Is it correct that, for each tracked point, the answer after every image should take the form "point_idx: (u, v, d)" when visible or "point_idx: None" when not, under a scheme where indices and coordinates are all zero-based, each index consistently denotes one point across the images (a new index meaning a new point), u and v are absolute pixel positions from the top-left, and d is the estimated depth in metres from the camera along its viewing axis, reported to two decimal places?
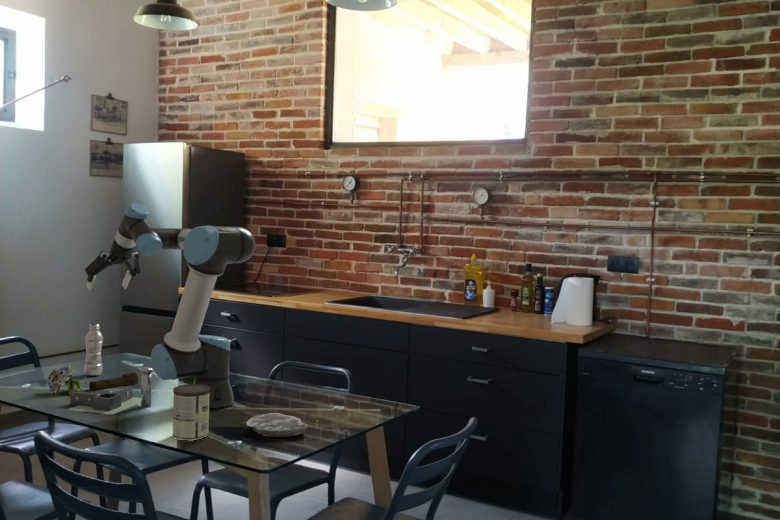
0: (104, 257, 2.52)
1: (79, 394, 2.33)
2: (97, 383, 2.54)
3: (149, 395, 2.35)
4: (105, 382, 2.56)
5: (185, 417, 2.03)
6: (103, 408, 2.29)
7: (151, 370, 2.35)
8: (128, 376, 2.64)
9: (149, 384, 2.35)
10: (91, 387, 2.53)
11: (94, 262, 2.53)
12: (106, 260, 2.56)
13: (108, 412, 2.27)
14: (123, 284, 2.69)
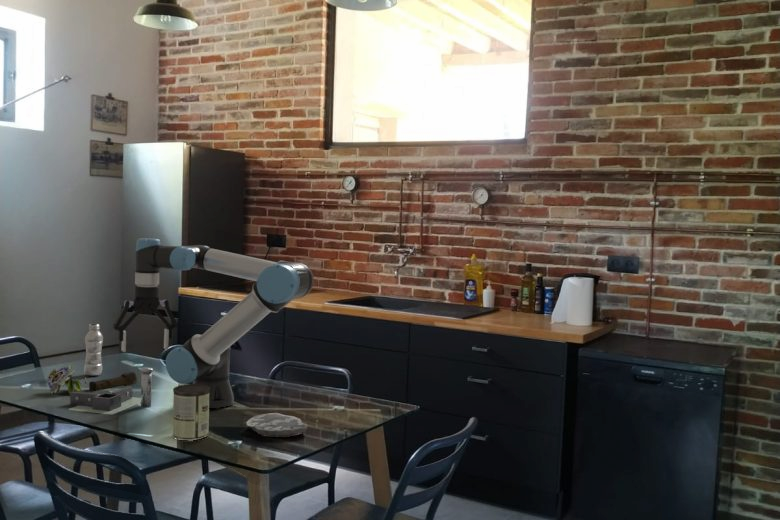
0: (127, 304, 2.30)
1: (79, 394, 2.33)
2: (97, 383, 2.54)
3: (149, 395, 2.35)
4: (105, 382, 2.57)
5: (185, 417, 2.03)
6: (103, 408, 2.29)
7: (151, 370, 2.35)
8: (127, 376, 2.64)
9: (149, 384, 2.35)
10: (92, 387, 2.53)
11: (119, 314, 2.31)
12: (133, 312, 2.33)
13: (108, 412, 2.27)
14: (164, 346, 2.39)
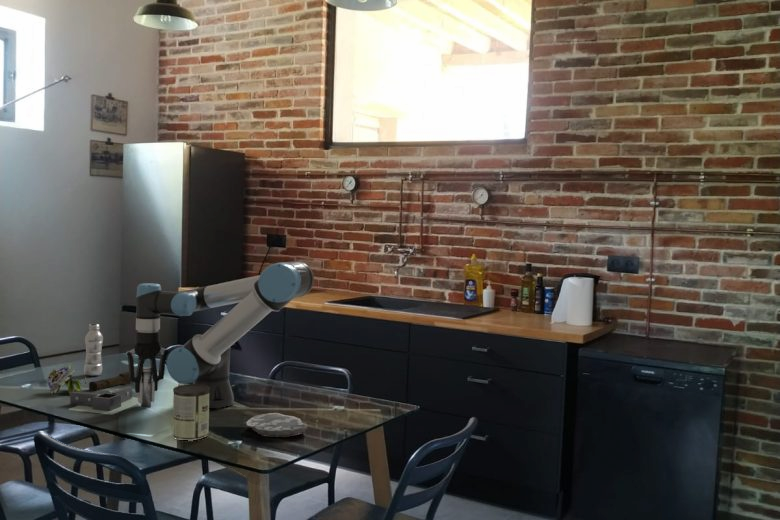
0: (129, 355, 2.31)
1: (79, 394, 2.33)
2: (98, 383, 2.54)
3: (149, 395, 2.35)
4: (105, 382, 2.57)
5: (185, 417, 2.03)
6: (103, 408, 2.29)
7: (151, 370, 2.35)
8: (125, 375, 2.65)
9: (149, 384, 2.35)
10: (92, 387, 2.53)
11: (129, 366, 2.33)
12: (139, 360, 2.34)
13: (108, 412, 2.27)
14: None
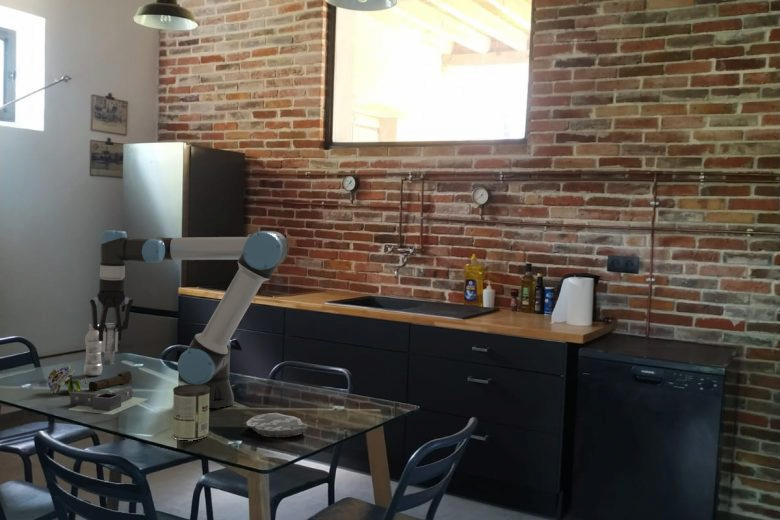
0: (92, 302, 2.26)
1: (79, 394, 2.33)
2: (98, 383, 2.54)
3: (112, 351, 2.31)
4: (104, 382, 2.57)
5: (185, 417, 2.03)
6: (103, 408, 2.29)
7: (114, 326, 2.30)
8: (124, 375, 2.65)
9: (112, 340, 2.30)
10: (92, 387, 2.53)
11: (92, 314, 2.28)
12: (102, 308, 2.30)
13: (108, 412, 2.27)
14: None
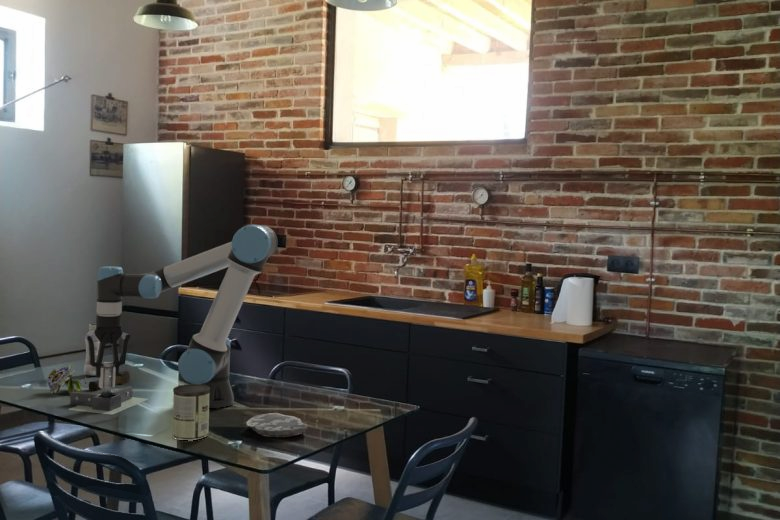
0: (90, 339, 2.27)
1: (79, 394, 2.33)
2: (98, 383, 2.54)
3: (110, 390, 2.31)
4: None
5: (185, 417, 2.03)
6: (103, 408, 2.29)
7: (112, 365, 2.31)
8: (123, 375, 2.66)
9: (110, 379, 2.31)
10: (92, 387, 2.53)
11: (89, 351, 2.28)
12: (100, 344, 2.30)
13: (108, 412, 2.27)
14: None
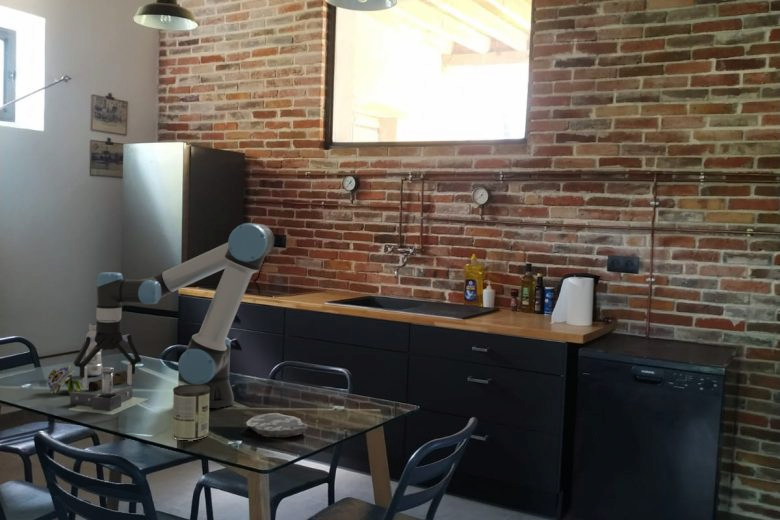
0: (88, 340, 2.26)
1: (79, 394, 2.33)
2: (98, 383, 2.54)
3: (110, 395, 2.31)
4: None
5: (185, 417, 2.03)
6: (103, 408, 2.29)
7: (112, 370, 2.31)
8: (121, 374, 2.66)
9: (110, 384, 2.31)
10: (92, 387, 2.53)
11: (80, 350, 2.27)
12: (95, 347, 2.29)
13: (108, 412, 2.27)
14: (128, 381, 2.35)
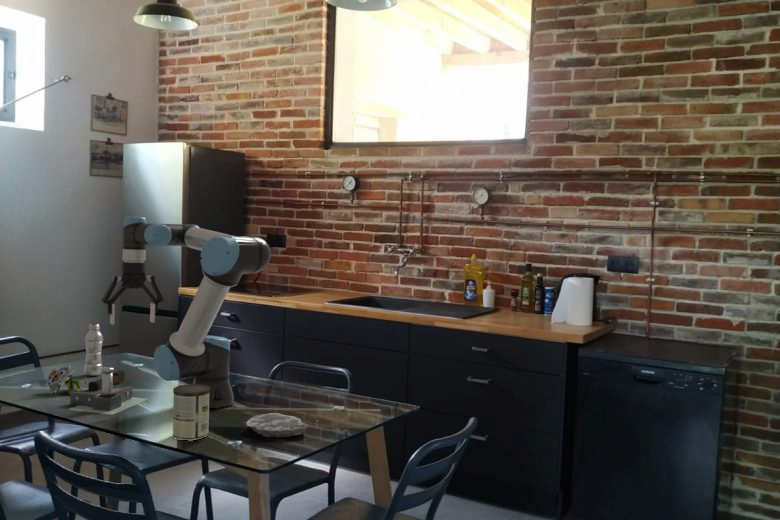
0: (115, 279, 2.42)
1: (79, 394, 2.33)
2: (98, 383, 2.54)
3: (110, 395, 2.31)
4: None
5: (185, 417, 2.03)
6: (103, 408, 2.29)
7: (112, 370, 2.31)
8: (119, 374, 2.66)
9: (110, 384, 2.31)
10: (93, 387, 2.53)
11: (108, 289, 2.43)
12: (121, 286, 2.45)
13: (108, 412, 2.27)
14: (151, 319, 2.52)
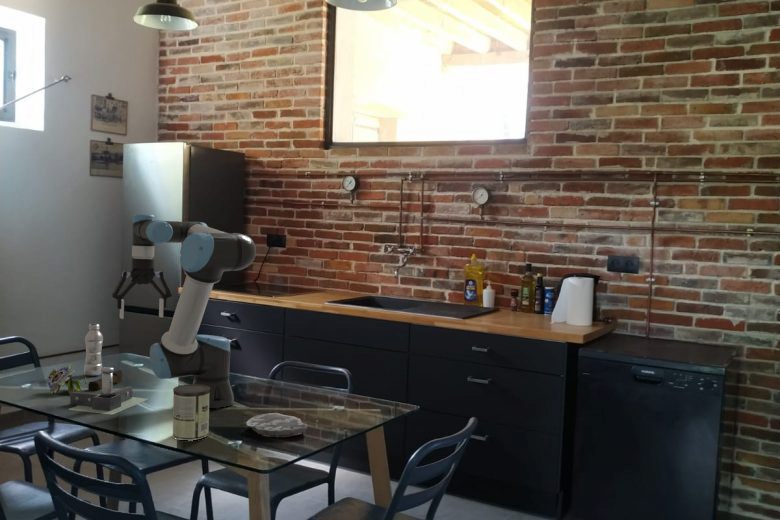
0: (125, 274, 2.49)
1: (79, 394, 2.33)
2: (98, 383, 2.54)
3: (110, 395, 2.31)
4: None
5: (185, 417, 2.03)
6: (103, 408, 2.29)
7: (112, 370, 2.31)
8: (117, 374, 2.67)
9: (110, 384, 2.31)
10: (93, 387, 2.53)
11: (118, 284, 2.50)
12: (130, 282, 2.52)
13: (108, 412, 2.27)
14: (159, 314, 2.58)
